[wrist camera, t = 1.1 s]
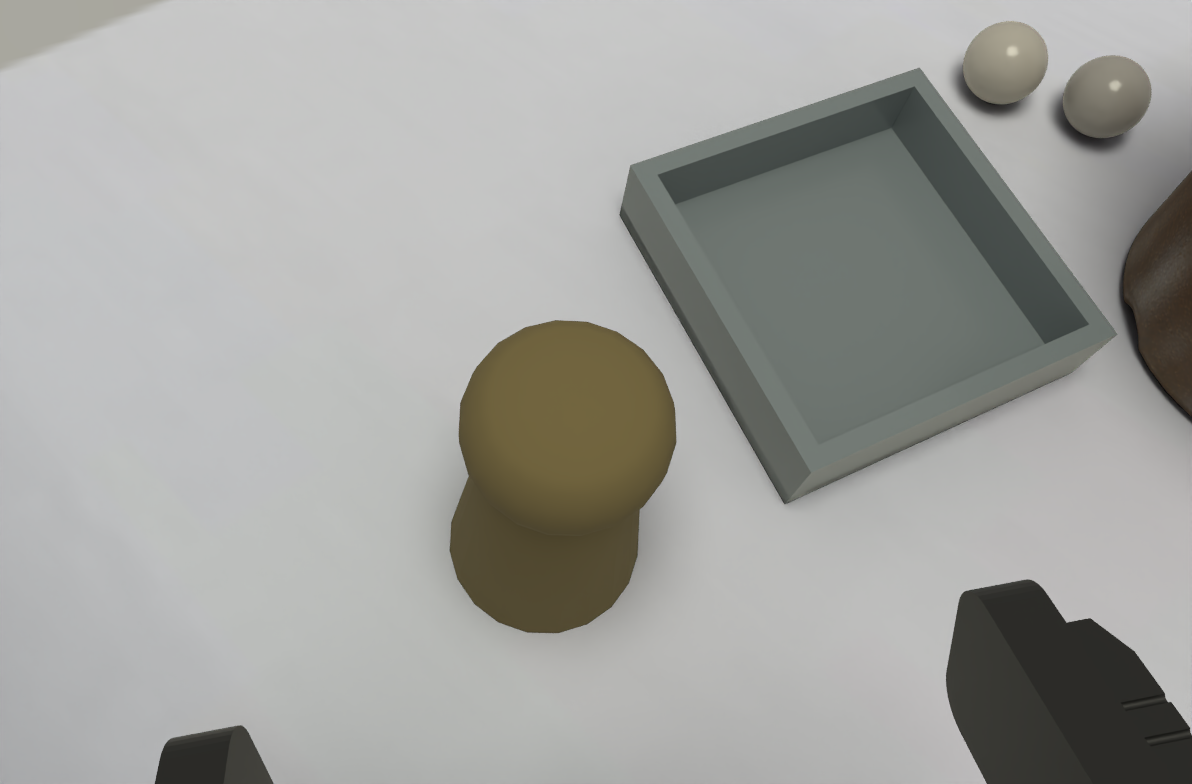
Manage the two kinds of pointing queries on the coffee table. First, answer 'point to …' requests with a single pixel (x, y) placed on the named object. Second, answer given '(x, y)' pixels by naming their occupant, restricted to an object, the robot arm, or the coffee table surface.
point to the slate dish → (856, 278)
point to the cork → (558, 473)
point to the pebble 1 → (1005, 62)
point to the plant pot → (1165, 293)
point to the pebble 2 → (1107, 96)
